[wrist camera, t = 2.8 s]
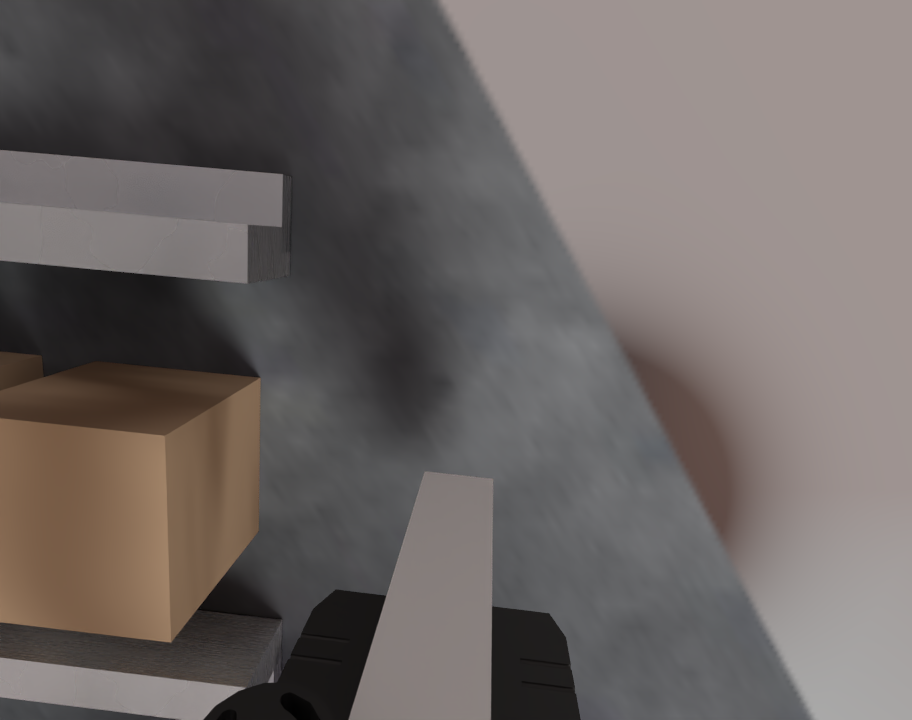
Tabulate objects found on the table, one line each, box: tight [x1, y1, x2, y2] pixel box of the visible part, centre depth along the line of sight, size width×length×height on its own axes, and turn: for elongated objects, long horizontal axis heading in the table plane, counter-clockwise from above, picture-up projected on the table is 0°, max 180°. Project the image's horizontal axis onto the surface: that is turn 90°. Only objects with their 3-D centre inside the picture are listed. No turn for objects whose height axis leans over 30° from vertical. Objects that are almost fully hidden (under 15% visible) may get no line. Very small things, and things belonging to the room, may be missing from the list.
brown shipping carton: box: [0, 361, 260, 643], centre depth 13 cm, size 4×4×4 cm
